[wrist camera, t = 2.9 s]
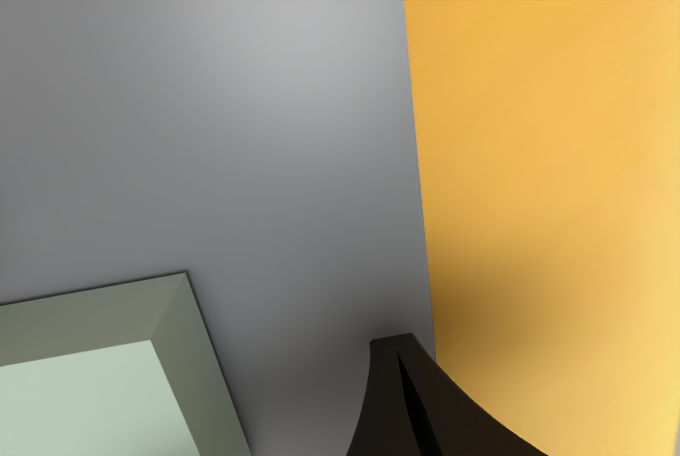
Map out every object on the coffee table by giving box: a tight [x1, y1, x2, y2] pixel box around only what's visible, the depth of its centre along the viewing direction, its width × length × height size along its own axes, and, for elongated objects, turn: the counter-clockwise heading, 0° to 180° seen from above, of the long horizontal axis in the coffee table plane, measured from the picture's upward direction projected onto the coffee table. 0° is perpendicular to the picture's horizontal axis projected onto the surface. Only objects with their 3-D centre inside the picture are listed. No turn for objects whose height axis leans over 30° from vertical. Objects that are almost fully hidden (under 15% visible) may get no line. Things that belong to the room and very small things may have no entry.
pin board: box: [0, 0, 436, 456], centre depth 14 cm, size 20×24×2 cm
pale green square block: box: [0, 273, 251, 456], centre depth 12 cm, size 8×8×3 cm
